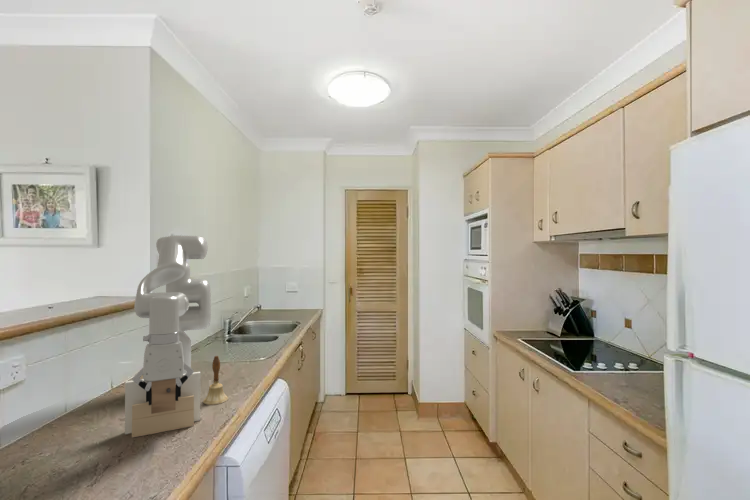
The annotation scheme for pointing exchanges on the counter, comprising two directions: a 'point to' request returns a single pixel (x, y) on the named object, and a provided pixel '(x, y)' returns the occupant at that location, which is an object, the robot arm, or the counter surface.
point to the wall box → (163, 396)
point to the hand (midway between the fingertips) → (163, 400)
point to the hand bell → (215, 387)
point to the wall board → (146, 423)
